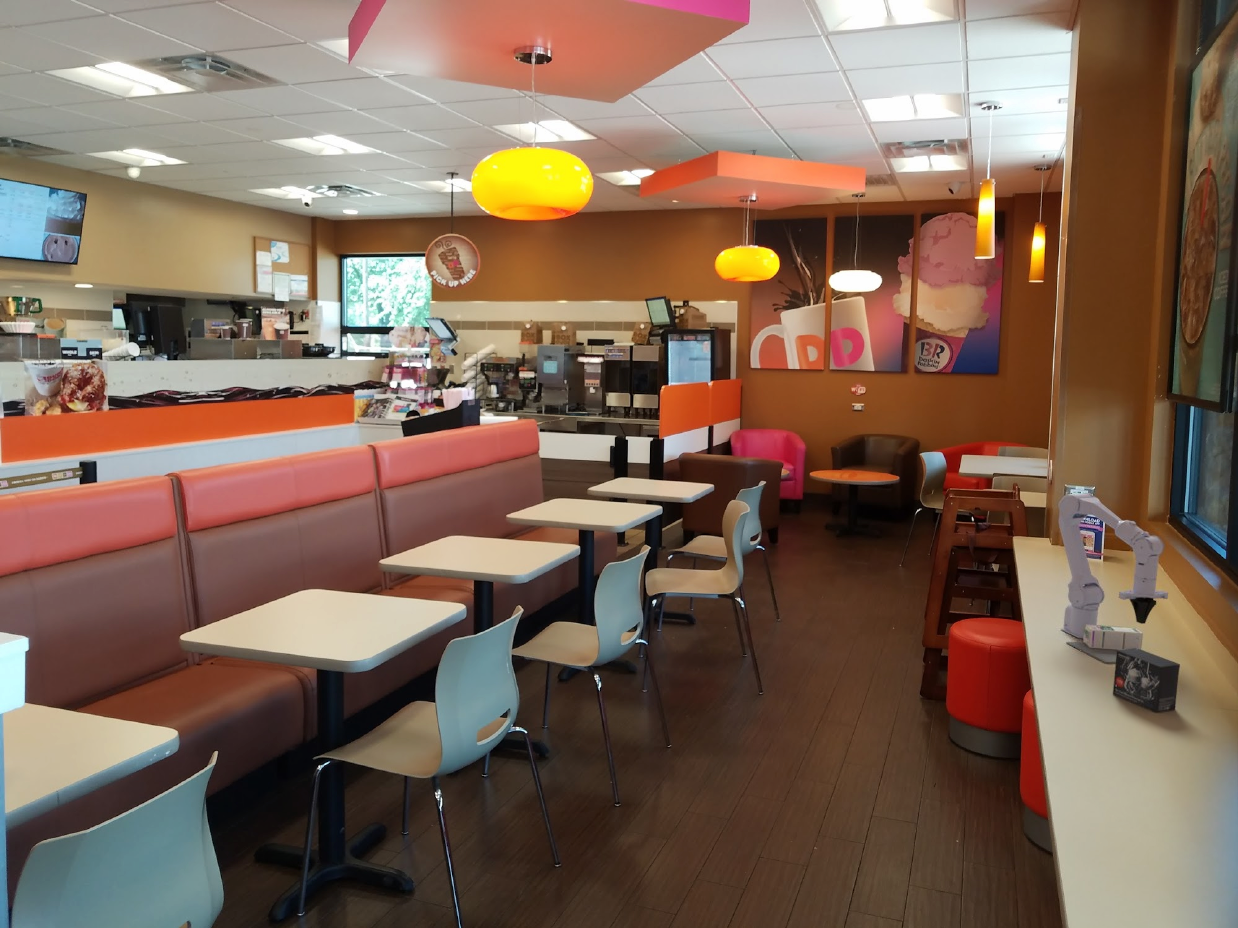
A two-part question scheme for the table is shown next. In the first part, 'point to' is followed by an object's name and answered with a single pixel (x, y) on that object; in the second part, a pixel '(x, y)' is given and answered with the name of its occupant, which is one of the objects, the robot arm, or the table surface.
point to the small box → (1146, 679)
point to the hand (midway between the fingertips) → (1140, 622)
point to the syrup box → (1112, 637)
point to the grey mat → (1096, 652)
